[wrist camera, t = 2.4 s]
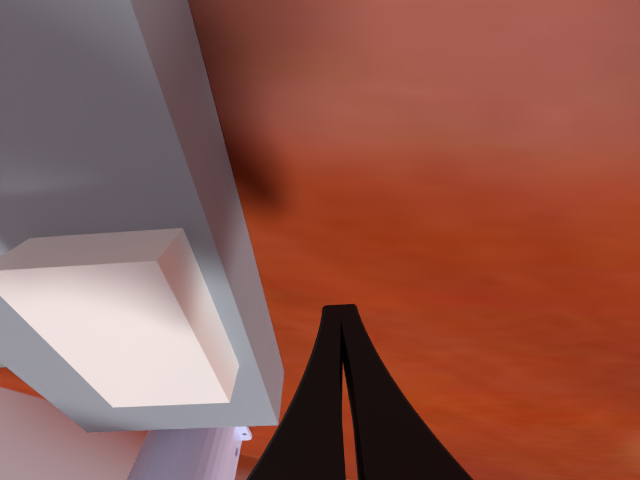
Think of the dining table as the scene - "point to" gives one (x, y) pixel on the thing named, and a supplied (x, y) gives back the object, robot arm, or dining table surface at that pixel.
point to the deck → (125, 185)
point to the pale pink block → (125, 314)
